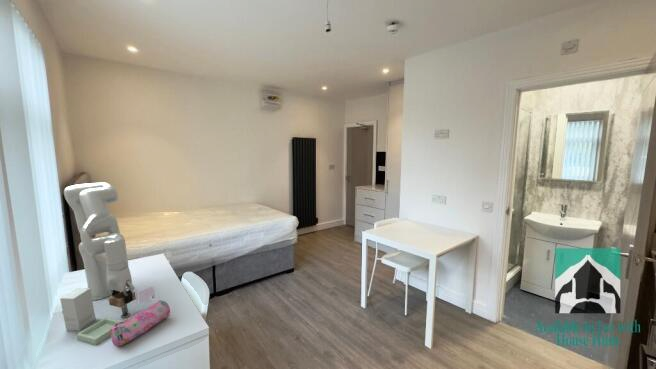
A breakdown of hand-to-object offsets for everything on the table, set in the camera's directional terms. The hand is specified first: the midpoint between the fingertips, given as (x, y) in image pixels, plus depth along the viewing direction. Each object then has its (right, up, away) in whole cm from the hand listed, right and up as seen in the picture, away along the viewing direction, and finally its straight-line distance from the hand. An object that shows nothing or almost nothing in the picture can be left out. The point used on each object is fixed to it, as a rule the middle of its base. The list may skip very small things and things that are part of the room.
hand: (122, 300), depth 123 cm
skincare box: (-15, -9, -5) cm, 18 cm away
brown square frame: (0, -1, 0) cm, 1 cm away
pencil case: (+16, -9, -10) cm, 21 cm away
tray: (-1, -9, -11) cm, 14 cm away
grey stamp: (+1, -8, +1) cm, 8 cm away
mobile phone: (-1, -6, +18) cm, 19 cm away
